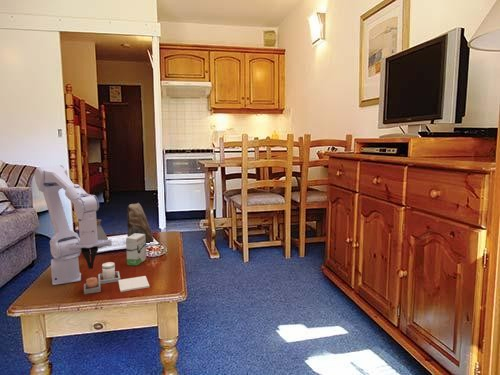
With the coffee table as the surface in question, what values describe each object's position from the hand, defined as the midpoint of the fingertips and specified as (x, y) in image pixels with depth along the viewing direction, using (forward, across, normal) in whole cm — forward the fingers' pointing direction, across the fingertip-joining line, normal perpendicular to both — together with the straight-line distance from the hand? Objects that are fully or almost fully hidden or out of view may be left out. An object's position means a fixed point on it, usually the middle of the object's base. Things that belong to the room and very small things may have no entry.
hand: (90, 267), depth 128 cm
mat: (+8, +14, -1) cm, 16 cm away
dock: (+8, +4, +5) cm, 10 cm away
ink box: (+9, +18, +23) cm, 30 cm away
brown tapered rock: (+8, +23, +50) cm, 56 cm away
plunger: (+7, 0, 0) cm, 7 cm away
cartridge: (+8, +6, +8) cm, 13 cm away
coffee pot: (+9, +2, +50) cm, 51 cm away
